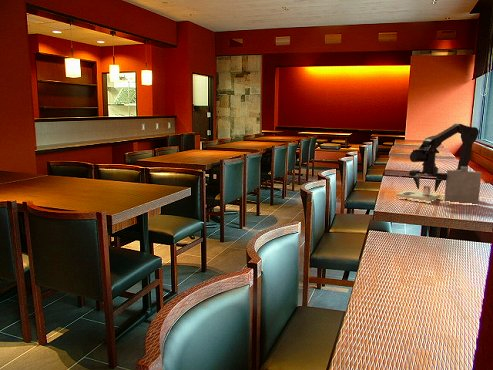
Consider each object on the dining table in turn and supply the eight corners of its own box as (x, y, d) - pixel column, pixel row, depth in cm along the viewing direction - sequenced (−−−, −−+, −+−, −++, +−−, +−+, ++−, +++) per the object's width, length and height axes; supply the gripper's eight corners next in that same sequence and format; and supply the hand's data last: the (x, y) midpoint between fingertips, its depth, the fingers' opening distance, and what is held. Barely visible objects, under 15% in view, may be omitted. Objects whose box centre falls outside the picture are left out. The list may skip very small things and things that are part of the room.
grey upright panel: (477, 205, 219) (481, 167, 216) (478, 206, 216) (482, 168, 212) (444, 202, 226) (447, 165, 222) (444, 203, 222) (447, 166, 218)
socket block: (439, 200, 231) (440, 194, 230) (429, 204, 221) (429, 197, 220) (407, 195, 243) (407, 189, 243) (396, 198, 234) (396, 193, 233)
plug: (430, 200, 229) (431, 186, 228) (427, 201, 227) (429, 187, 225) (424, 199, 231) (425, 185, 230) (421, 200, 229) (422, 186, 228)
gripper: (452, 161, 224) (450, 190, 227) (418, 158, 237) (415, 186, 240) (445, 163, 217) (442, 193, 219) (409, 160, 230) (407, 188, 232)
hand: (426, 190), depth 228 cm, fingers open, 9 cm apart
